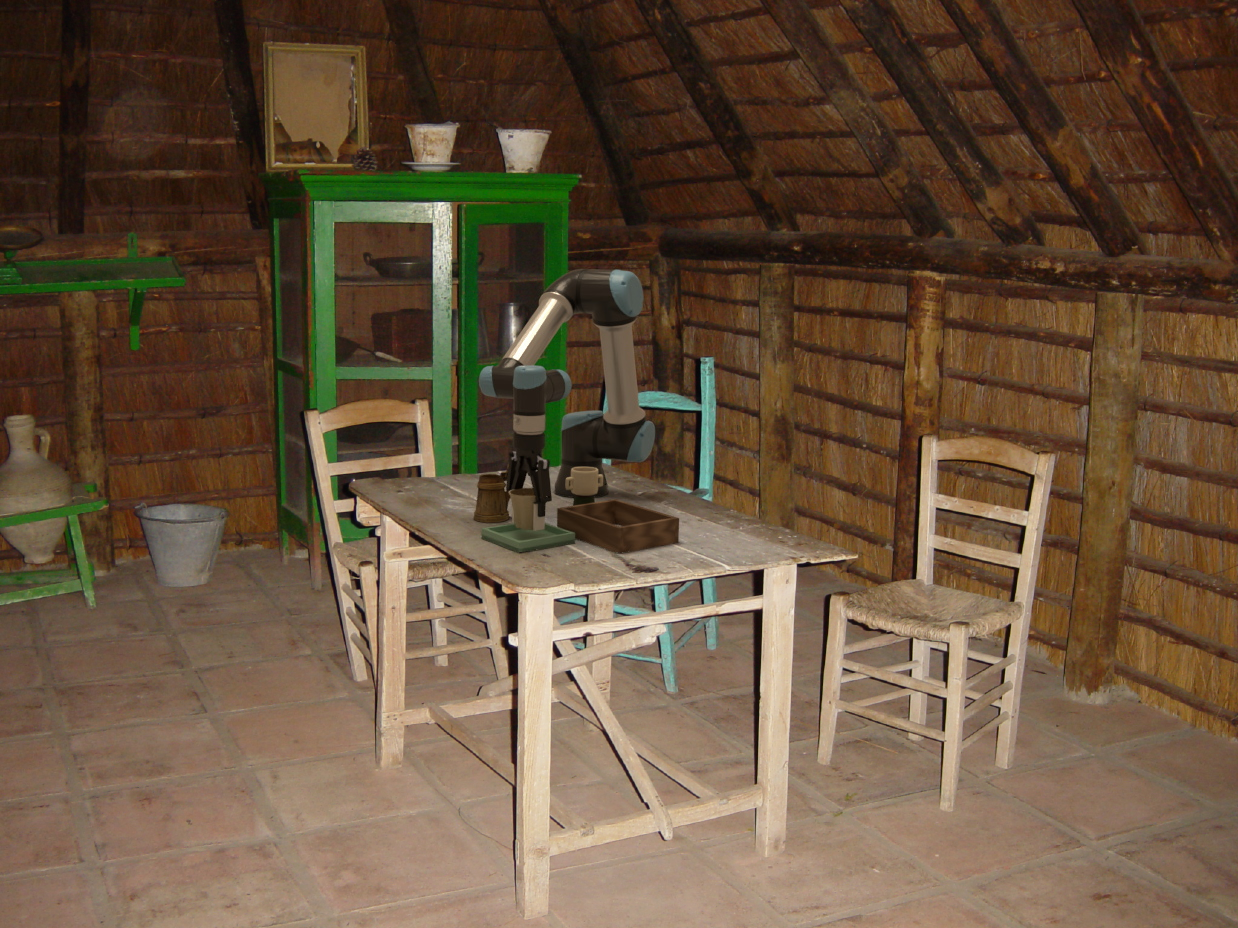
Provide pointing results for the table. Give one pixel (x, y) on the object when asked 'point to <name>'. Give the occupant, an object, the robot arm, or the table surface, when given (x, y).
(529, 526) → the flower pot
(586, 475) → the character mug
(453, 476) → the table surface
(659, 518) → the walnut crate
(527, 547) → the green tray
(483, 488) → the wooden mug
